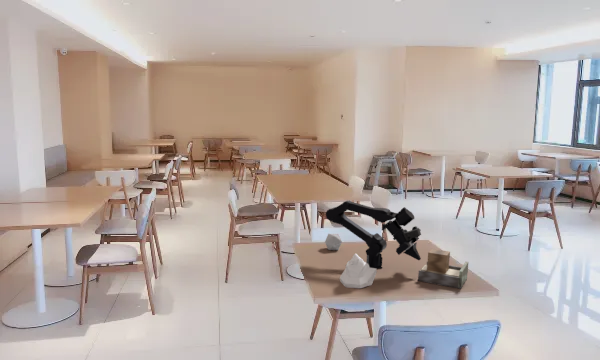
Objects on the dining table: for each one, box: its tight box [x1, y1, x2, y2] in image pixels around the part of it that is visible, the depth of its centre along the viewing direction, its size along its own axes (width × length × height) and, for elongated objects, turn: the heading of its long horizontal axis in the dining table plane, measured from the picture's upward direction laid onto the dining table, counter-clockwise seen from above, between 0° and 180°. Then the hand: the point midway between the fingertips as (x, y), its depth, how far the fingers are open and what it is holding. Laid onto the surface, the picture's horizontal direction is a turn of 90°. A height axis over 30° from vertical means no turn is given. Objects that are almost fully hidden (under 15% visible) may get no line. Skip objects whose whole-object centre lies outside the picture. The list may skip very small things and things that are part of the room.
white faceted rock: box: [339, 253, 378, 289], centre depth 203 cm, size 12×15×14 cm
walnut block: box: [426, 248, 451, 273], centre depth 214 cm, size 8×7×8 cm
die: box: [324, 233, 343, 251], centre depth 255 cm, size 8×9×10 cm
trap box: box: [417, 261, 469, 290], centre depth 214 cm, size 18×16×8 cm
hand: (419, 259), depth 218 cm, fingers closed
